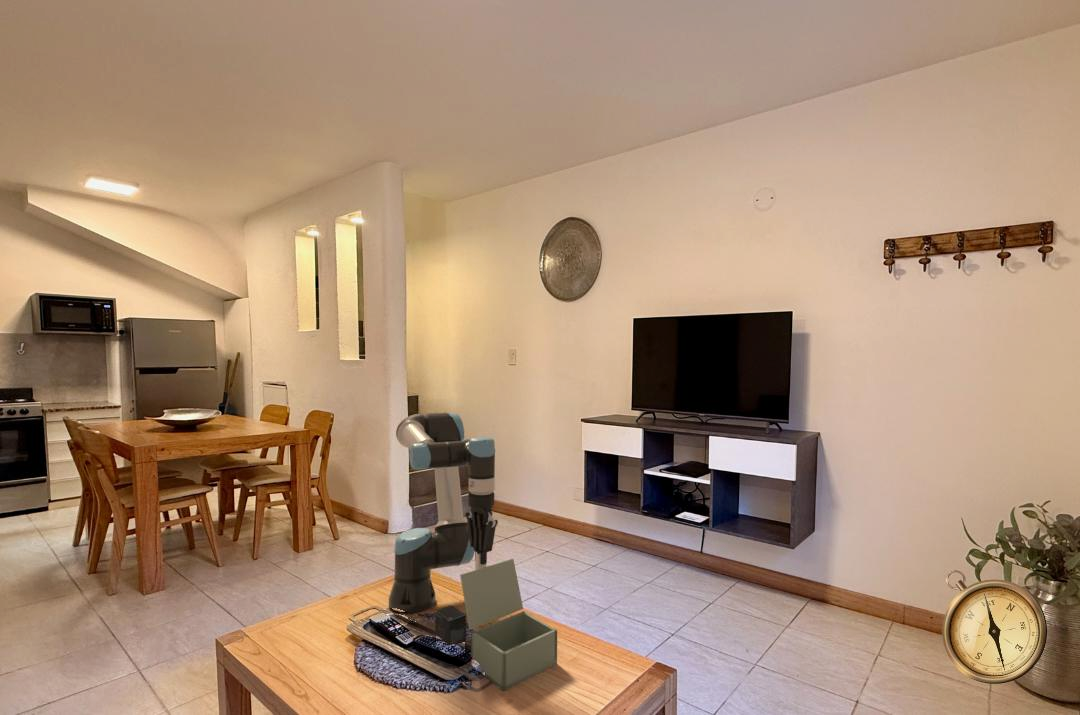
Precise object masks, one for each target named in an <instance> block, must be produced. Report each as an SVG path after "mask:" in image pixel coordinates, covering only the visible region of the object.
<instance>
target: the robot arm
mask: <svg viewBox="0 0 1080 715" xmlns="http://www.w3.org/2000/svg"><path fill="white" fill-rule="evenodd" d="M395 437H396V439H397V442H399V444H400V445H402V447H404V448H407V449H408V450H409V452H408V454H409V456H408V458H409V465H410V467H411V469H413V470H428V469H429V470H430V469H434V481H435V492H436V506H437V518H438V521H437V523H436V525H435V526H434V532H432V531H431V529H429V528H428V527H416V528H411V529H407V530H406V531H403V532H401V533H400V534H399V535H397V537H396V538H395V543H394V549H393V550H394V551H393V553H394V581H393V583H392V587H391V591H390V594H389V597H388V607H389V609H390V608H397V609H400V610H403V611H405V612H408V613H407V614H412V613H413V614H414V613H419V612H423V611H426V610H428V609H431V607H433V606H434V605H435V604H436V592H435V588H434V584H433V581H432V578H431V570H436V569H442V568H449V567H455V566H457V567H459V566H461V565H467V564H470V563H471V562H472V560H473V558H474V560H475V564H474V565H475V570H477V569H481V568H484V567H487V562H488V560H487V559H488V553H489V552H492V550H493V547H494V539H495V533H496V528H497V526H498V523H499V522H498V519H494V517H493V511H492V508H493V506H495V492H494V491H495V490H496V488H495V487H496V484H495V481H496V480H495V479H496V477H495V476H496V475H495V471H496V470H495V469H496V468H495V466H496V465H495V464H496V463H495V462H496V456H495V455H496V445H495V444H496V443H495V440H494V438H492V437H487V436H477V437H476V436H475V437H472V438H465V428H464V423H463V420H462V419H461V416H460V415H459V414H458V413H455V412H446V411H445V412H437V413H436V412H435V413H434V412H433V413H416V414H412V415H409V416H406V417H405V418H404V419H402V420H401V421H400V422H399V424H398V425H397V427H396V431H395ZM459 467H468V493H467V494H468V495H467V496H468V498H467V502H468V503H467V505H468V507H470V511H467V512H465V517H466V518H465V517H464V512H463V503H462V502H463V501H462V491H461V481H460V472H459V470H460V469H459Z"/></svg>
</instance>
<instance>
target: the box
mask: <svg viewBox="0 0 1080 715" xmlns="http://www.w3.org/2000/svg"><path fill="white" fill-rule="evenodd" d="M434 613H435V614H434V615H435V616H434V618H435V621H434V622H435V623H434V625H435V627H434V628H435V631H434V635H435V634H436V635H437V636H439V637H440V638H441V639H442V640H443V641H444V642H446V643H447V644H448V645H452V644H458V643H462V642H466V643H467V613H465V612H463V611H461V610H460V609H458V608H457V607H456V606H454V605H449V606H445V607H443V608H440V609H439V608H438V609H436V610H435V612H434Z"/></svg>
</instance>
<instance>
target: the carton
mask: <svg viewBox="0 0 1080 715" xmlns="http://www.w3.org/2000/svg"><path fill="white" fill-rule="evenodd" d="M471 657H472V658H473V659H474V660H476V661H477V662H478V663H479V664H480V666H481V667H482V668H483V670H484V672H485V676H484V678H486V680H488V681H490V682H491V683H492V684H494V685H495V686H496V687H498V689H500V690H501V691H503V692H504V691H507V690H508V689H510V688H512V687H514V686H516V685H518V684H520V683H522V682H523V681H526V680H527V679H529V678H531V677H533V676H535V675H537V674H539V673H541V672H543V671H545V670H546V669H549V668H551V667H552V666H554V665H557V664H558V629H556V628H555V627H553V626H550V625H548V624H547V623H545V622H544V621H542V620H540V619H538V618H536V617H534V616H533V615H531V614H529V613H528V612H526V611H521V612H518V613H516V614H513V615H511V616H509V617H506V618H504V619H501V620H499V621H495V622H494V623H491V624H488V625H486V626H483V627H482V628H479V629H477V630H473V631H471V632H470V658H471Z"/></svg>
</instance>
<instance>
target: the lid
mask: <svg viewBox="0 0 1080 715" xmlns="http://www.w3.org/2000/svg"><path fill="white" fill-rule="evenodd" d="M459 577H460V582H461V583H460V584H461V589H462V594H463V600H464V601H463V602H464V606H465V612H466V613H465V614H466V620H467V623H468V630H469V631H470V630H473V629H476V628H478V627H481V626H483V625H486V624H489V623H491V622H494V621H497V620H499V619H501V618H504V617H507V616H508V615H512V614H514V613H516V612H519V611H522V610H524V605H523V600H522V595H521V591H520V587H519V586H520V584H519V580H518V576H517V570H516V565H515V560H514V558H511V559H507V560H504V561H501V562H497V563H495V564H494V563H493V564H491V565H488V566H487V565H486V567H484V568H481V569H477V570H471V571H467V572H464V573H462V574H459Z"/></svg>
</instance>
